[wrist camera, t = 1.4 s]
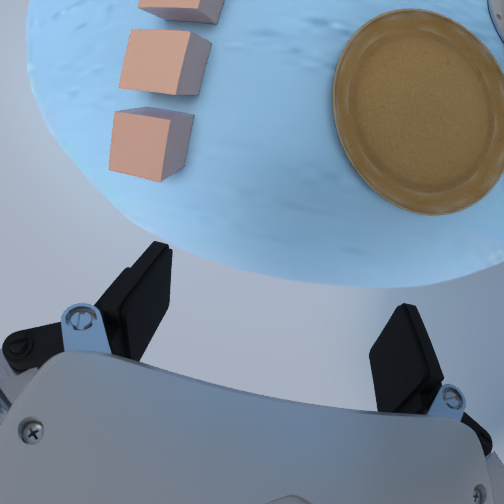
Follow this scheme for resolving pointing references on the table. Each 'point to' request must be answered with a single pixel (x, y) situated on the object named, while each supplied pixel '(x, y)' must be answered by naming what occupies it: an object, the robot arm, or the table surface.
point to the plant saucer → (421, 111)
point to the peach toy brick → (184, 9)
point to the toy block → (164, 61)
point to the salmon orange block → (149, 142)
